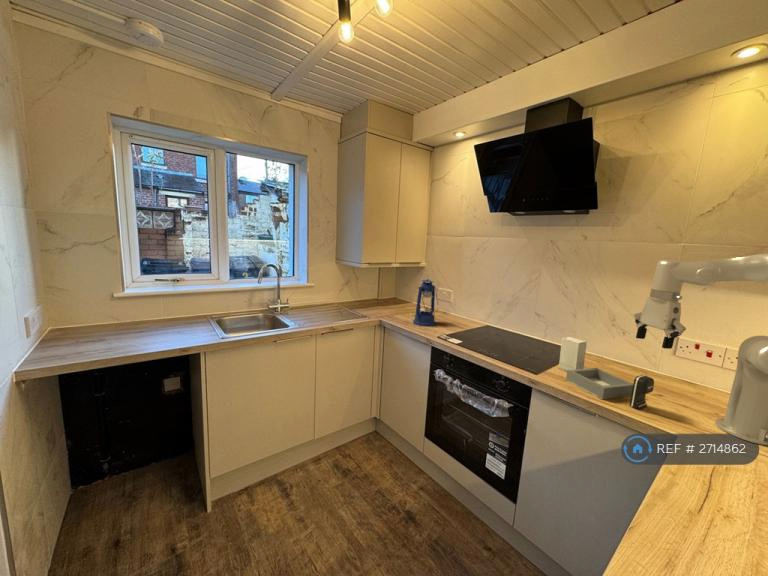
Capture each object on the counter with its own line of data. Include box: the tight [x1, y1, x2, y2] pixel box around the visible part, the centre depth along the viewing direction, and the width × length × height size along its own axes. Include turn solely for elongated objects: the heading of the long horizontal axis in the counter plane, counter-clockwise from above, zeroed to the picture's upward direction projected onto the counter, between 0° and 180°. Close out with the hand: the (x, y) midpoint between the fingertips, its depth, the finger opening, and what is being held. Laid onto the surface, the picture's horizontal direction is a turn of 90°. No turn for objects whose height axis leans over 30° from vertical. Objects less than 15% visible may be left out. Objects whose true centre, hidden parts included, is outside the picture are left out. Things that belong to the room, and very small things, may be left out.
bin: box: [565, 367, 634, 400], centre depth 124 cm, size 16×16×4 cm
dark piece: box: [629, 374, 655, 410], centre depth 109 cm, size 7×4×11 cm, turn 117°
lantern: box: [412, 279, 439, 327], centre depth 205 cm, size 17×15×30 cm
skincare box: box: [558, 336, 588, 372], centre depth 139 cm, size 8×6×15 cm
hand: (652, 343), depth 109 cm, fingers open, 9 cm apart
